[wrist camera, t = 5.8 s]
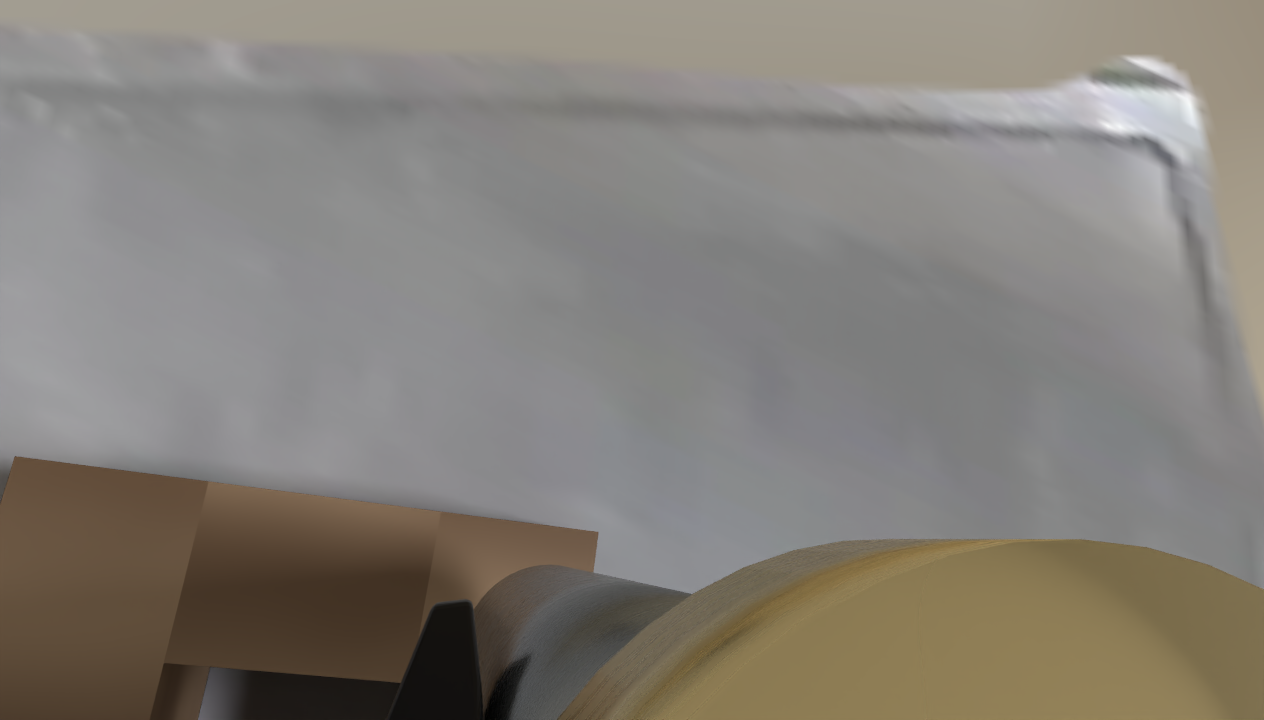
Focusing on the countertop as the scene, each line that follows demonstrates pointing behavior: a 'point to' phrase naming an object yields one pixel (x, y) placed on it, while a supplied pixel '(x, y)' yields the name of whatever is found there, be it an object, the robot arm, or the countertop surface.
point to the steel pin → (884, 638)
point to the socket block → (223, 586)
